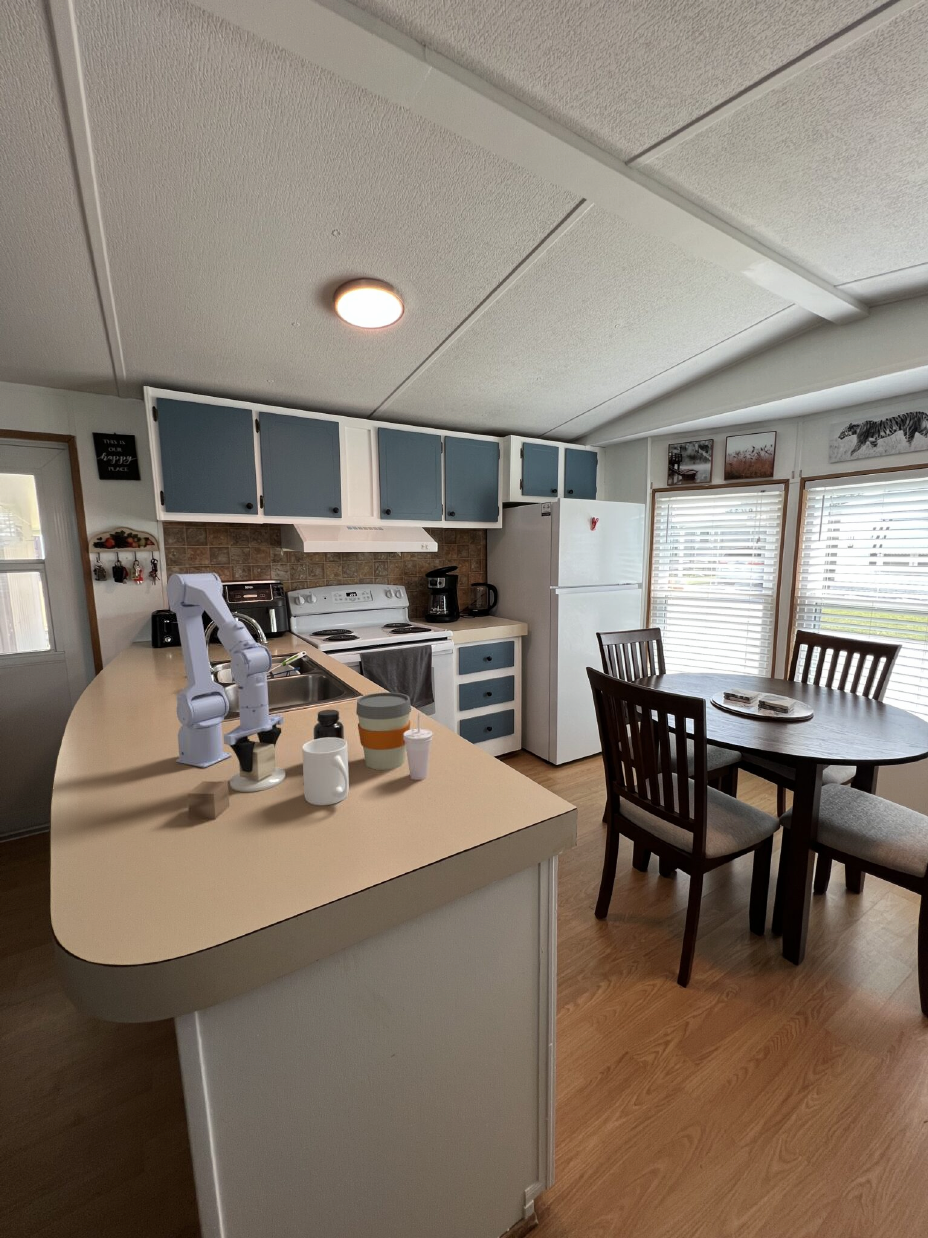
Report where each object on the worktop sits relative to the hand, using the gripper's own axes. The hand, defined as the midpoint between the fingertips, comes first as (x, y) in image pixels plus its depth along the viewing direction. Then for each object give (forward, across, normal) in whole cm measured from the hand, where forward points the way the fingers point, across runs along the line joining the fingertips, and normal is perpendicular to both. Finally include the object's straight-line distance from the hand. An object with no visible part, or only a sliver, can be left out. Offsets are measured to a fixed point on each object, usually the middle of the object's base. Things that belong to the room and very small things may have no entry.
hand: (257, 766), depth 109 cm
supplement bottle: (+3, +14, -8) cm, 16 cm away
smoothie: (+3, +15, -31) cm, 35 cm away
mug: (+3, -1, -20) cm, 20 cm away
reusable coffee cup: (+3, +19, -20) cm, 28 cm away
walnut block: (+3, -14, -2) cm, 15 cm away
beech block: (+2, 0, 0) cm, 2 cm away
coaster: (+3, 0, 0) cm, 3 cm away
